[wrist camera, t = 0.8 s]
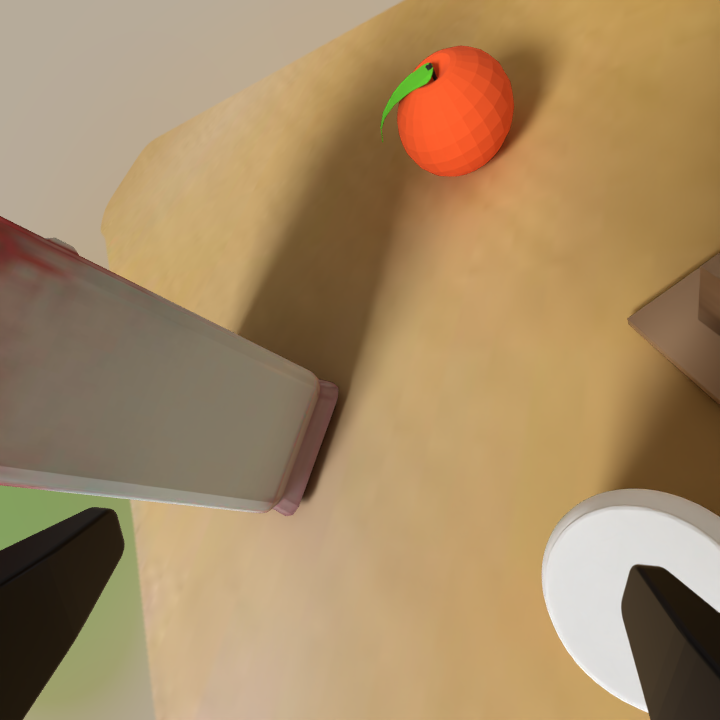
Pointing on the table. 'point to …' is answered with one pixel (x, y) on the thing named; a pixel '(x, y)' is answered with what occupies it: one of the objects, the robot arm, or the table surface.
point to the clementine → (453, 110)
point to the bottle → (143, 392)
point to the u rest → (688, 326)
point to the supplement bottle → (622, 573)
